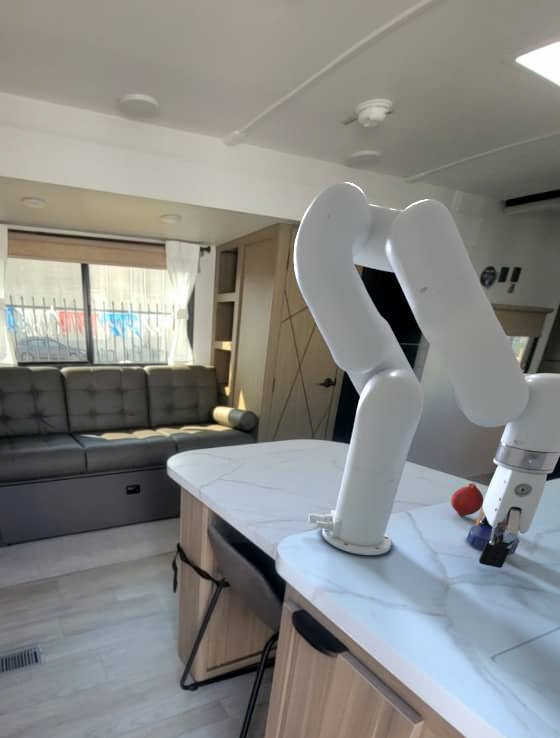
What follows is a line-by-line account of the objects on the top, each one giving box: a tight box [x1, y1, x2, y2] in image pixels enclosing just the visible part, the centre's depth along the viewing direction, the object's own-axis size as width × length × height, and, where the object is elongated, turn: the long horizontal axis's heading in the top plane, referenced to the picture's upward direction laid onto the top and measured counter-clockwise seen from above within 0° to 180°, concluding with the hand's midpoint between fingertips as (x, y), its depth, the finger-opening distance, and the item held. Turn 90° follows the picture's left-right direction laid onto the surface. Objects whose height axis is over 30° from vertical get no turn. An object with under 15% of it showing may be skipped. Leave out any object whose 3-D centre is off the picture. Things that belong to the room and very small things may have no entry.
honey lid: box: [466, 525, 520, 556], centre depth 70 cm, size 7×7×2 cm
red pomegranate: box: [450, 482, 484, 517], centre depth 90 cm, size 6×6×8 cm
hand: (486, 553), depth 71 cm, fingers closed on honey lid, 6 cm apart
